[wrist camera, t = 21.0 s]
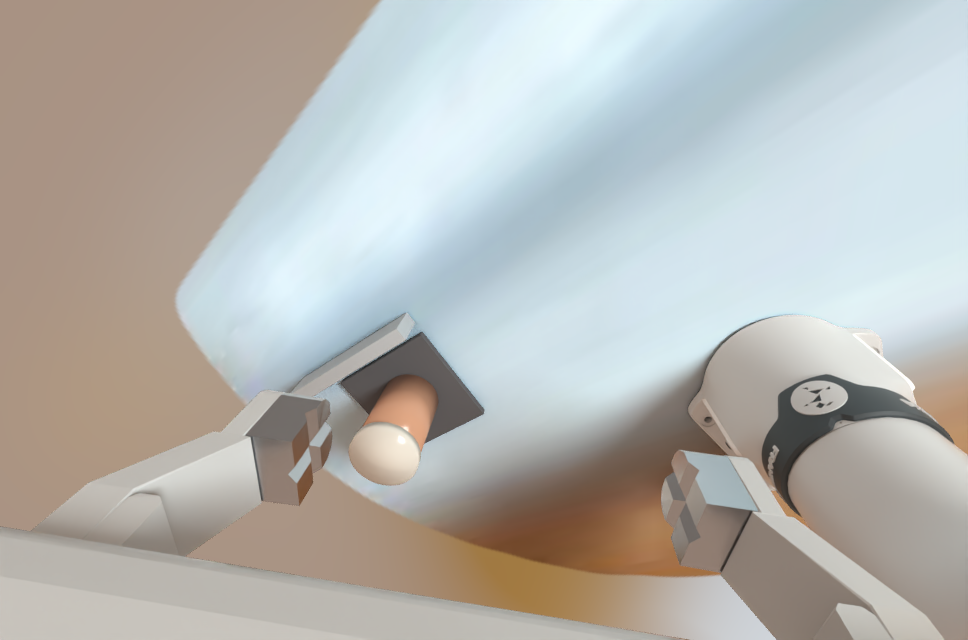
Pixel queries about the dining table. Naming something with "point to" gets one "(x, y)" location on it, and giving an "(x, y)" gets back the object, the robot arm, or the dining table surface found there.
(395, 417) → the jar
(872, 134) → the dining table surface
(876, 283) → the dining table surface
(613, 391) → the dining table surface
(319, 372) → the divider
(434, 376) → the plate
